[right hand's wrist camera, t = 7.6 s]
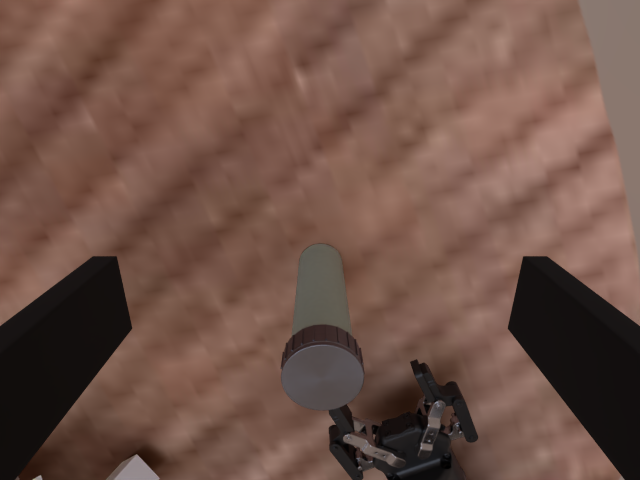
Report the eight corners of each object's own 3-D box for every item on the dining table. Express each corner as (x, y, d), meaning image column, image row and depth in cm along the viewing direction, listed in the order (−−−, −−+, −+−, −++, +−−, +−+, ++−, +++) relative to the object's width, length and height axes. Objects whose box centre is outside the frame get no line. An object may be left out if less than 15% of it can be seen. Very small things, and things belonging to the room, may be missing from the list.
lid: (350, 314, 25) (353, 334, 23) (369, 377, 26) (374, 401, 24) (272, 334, 25) (268, 355, 23) (296, 394, 27) (295, 419, 25)
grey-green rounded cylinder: (335, 238, 38) (347, 338, 23) (346, 276, 40) (364, 392, 25) (293, 250, 39) (278, 355, 24) (306, 286, 40) (300, 407, 25)
